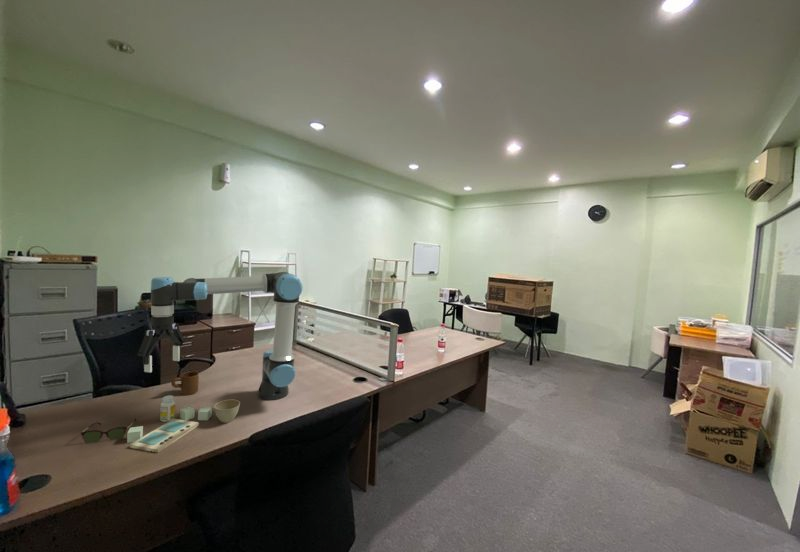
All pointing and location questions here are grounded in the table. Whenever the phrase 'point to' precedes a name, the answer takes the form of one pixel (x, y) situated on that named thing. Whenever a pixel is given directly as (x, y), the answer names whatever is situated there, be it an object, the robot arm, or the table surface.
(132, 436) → the block
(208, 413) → the block
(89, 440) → the sunglasses
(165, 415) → the supplement bottle
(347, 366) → the table surface
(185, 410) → the block
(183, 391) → the mug
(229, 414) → the beige bowl
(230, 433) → the table surface
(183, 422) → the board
